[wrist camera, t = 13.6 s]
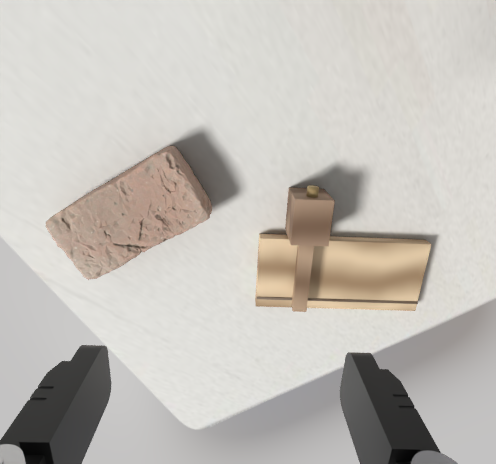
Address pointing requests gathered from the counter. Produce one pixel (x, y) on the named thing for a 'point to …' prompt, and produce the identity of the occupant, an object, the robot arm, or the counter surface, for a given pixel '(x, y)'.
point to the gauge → (307, 234)
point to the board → (345, 273)
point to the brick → (131, 214)
